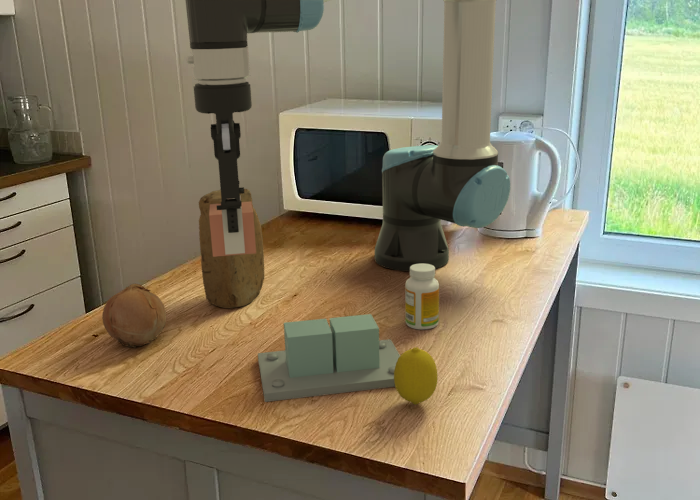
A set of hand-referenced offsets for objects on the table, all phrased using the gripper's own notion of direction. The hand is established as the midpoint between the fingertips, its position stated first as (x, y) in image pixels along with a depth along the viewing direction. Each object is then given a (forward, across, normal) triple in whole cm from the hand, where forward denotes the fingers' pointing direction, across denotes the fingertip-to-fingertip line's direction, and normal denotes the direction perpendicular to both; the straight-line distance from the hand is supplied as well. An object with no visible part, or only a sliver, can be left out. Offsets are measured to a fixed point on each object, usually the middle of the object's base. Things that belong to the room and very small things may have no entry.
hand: (234, 245), depth 102 cm
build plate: (+17, +10, +12) cm, 23 cm away
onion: (+17, -7, -16) cm, 24 cm away
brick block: (0, 0, 0) cm, 0 cm away
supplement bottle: (+17, -4, +29) cm, 34 cm away
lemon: (+17, +20, +22) cm, 34 cm away
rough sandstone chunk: (+17, -21, -1) cm, 27 cm away
